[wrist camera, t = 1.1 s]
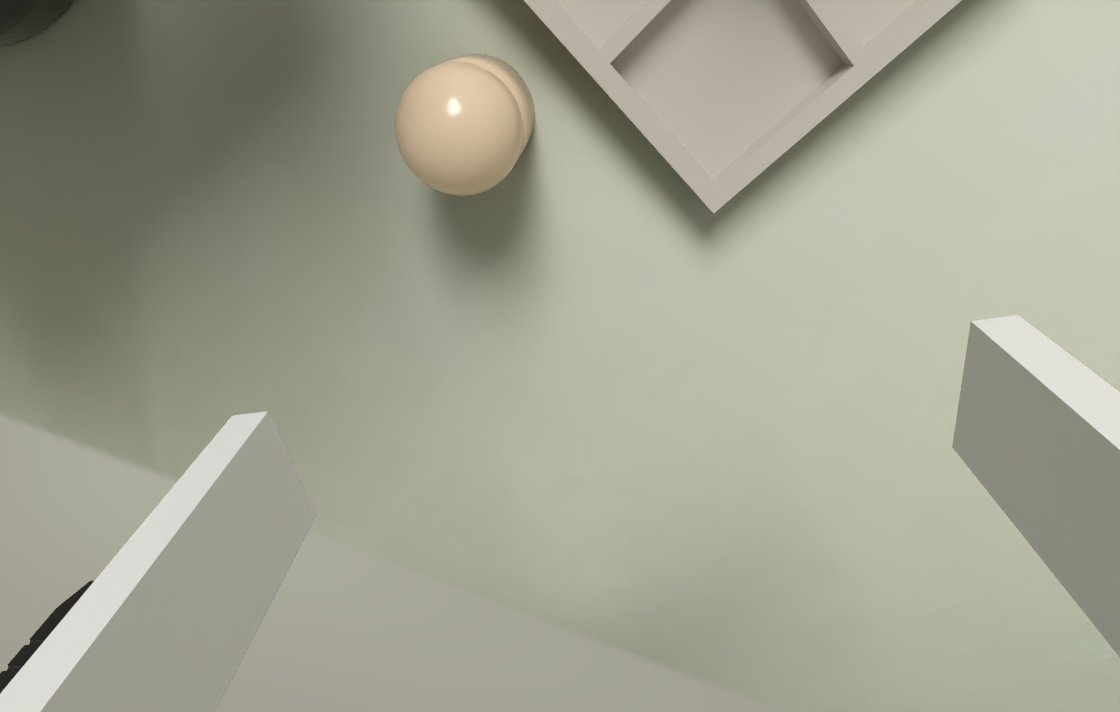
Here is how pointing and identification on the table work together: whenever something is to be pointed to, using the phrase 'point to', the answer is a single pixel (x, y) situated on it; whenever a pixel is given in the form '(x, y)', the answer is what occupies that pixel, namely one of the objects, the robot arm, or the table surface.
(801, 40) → the divided tray
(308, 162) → the table surface
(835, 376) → the table surface
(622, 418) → the table surface
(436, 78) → the egg
